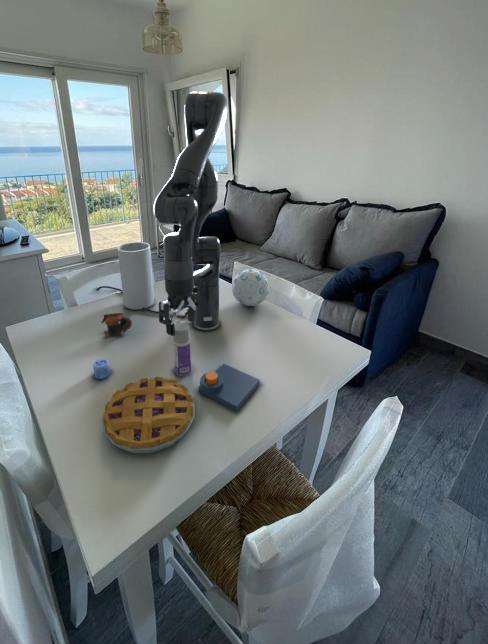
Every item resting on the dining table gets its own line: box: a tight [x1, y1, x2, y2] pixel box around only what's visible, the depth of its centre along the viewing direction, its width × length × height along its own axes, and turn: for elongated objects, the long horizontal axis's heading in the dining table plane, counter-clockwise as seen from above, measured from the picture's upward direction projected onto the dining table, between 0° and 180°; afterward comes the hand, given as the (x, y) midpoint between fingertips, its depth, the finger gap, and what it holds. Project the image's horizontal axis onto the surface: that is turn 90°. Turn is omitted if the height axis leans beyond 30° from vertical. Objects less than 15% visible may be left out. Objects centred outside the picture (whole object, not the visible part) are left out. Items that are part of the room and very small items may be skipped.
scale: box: [198, 363, 261, 412], centre depth 86 cm, size 12×12×4 cm
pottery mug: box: [100, 312, 133, 338], centre depth 113 cm, size 12×10×8 cm
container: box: [172, 322, 192, 377], centre depth 91 cm, size 5×5×15 cm
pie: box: [101, 376, 196, 454], centre depth 76 cm, size 22×22×5 cm
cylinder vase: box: [117, 241, 155, 311], centre depth 129 cm, size 12×12×25 cm
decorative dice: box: [92, 358, 110, 380], centre depth 92 cm, size 4×4×4 cm
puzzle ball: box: [231, 268, 270, 307], centre depth 130 cm, size 15×15×15 cm
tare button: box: [206, 371, 218, 385], centre depth 85 cm, size 3×3×2 cm
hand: (181, 327), depth 88 cm, fingers open, 8 cm apart
